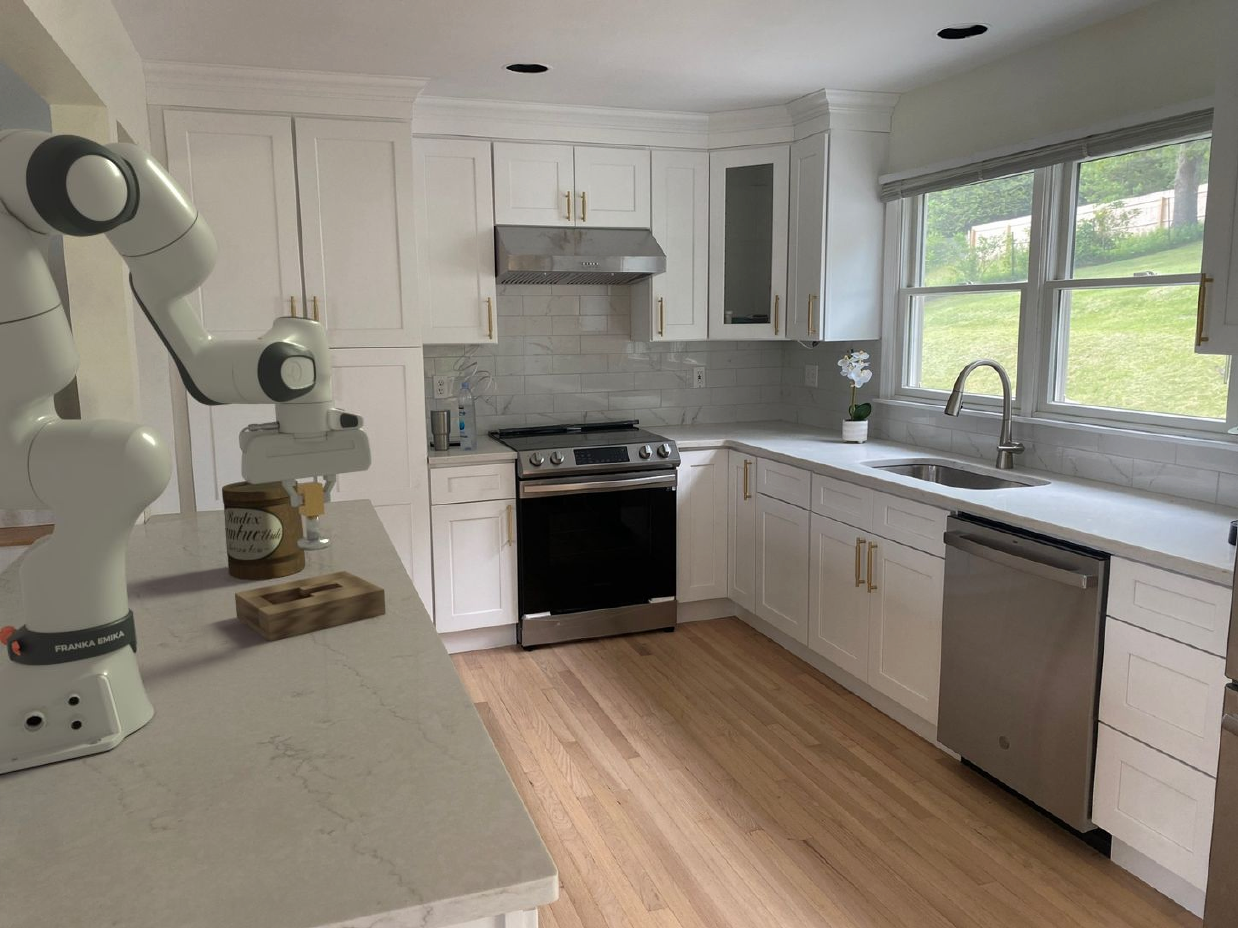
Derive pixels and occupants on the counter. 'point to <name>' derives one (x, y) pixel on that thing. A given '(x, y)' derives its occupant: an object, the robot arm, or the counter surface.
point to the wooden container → (262, 531)
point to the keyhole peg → (312, 516)
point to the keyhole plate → (309, 604)
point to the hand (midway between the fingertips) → (311, 504)
